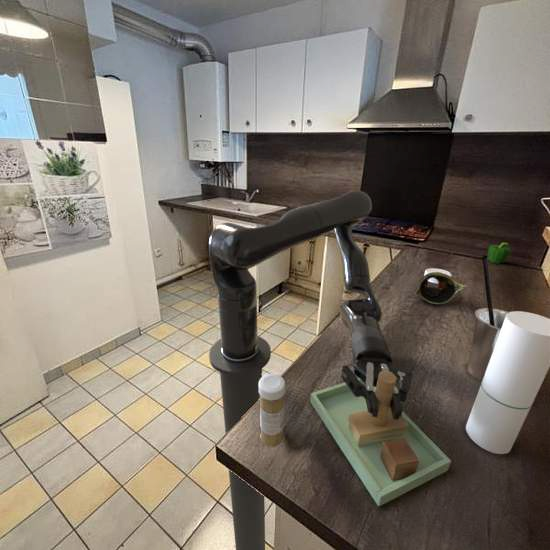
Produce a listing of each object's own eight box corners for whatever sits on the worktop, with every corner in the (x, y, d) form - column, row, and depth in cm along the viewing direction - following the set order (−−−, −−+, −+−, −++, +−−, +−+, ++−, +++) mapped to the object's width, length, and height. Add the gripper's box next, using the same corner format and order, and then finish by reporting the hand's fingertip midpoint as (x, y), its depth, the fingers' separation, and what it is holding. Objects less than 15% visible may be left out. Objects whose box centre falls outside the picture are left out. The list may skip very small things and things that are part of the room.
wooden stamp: (346, 426, 56) (355, 371, 50) (391, 417, 57) (404, 363, 51) (357, 448, 52) (368, 391, 46) (404, 438, 54) (420, 382, 48)
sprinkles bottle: (268, 423, 57) (268, 368, 52) (288, 434, 55) (290, 378, 50) (254, 440, 54) (253, 384, 49) (275, 453, 52) (276, 396, 46)
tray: (310, 401, 62) (310, 393, 61) (365, 383, 67) (367, 375, 66) (378, 507, 44) (380, 497, 43) (448, 470, 49) (451, 460, 48)
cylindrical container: (514, 436, 55) (567, 323, 45) (507, 462, 50) (564, 342, 40) (471, 413, 60) (510, 306, 50) (461, 435, 55) (501, 322, 45)
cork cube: (379, 457, 50) (383, 441, 49) (400, 453, 51) (404, 437, 49) (392, 481, 47) (396, 464, 45) (414, 477, 47) (419, 460, 46)
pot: (455, 266, 112) (466, 267, 95) (461, 295, 111) (473, 301, 95) (406, 274, 118) (409, 277, 101) (412, 301, 118) (416, 309, 101)
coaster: (420, 280, 121) (422, 272, 120) (427, 273, 128) (429, 266, 127) (446, 287, 115) (449, 279, 114) (452, 279, 122) (454, 271, 121)
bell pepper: (484, 262, 141) (490, 242, 137) (486, 258, 147) (492, 239, 143) (505, 266, 136) (512, 246, 132) (506, 262, 142) (513, 242, 138)
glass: (447, 373, 70) (481, 256, 59) (462, 353, 77) (496, 245, 66) (500, 399, 63) (552, 271, 51) (512, 374, 70) (560, 257, 58)
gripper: (400, 366, 64) (426, 436, 48) (335, 360, 66) (340, 425, 50) (406, 338, 61) (436, 402, 46) (338, 332, 63) (345, 392, 47)
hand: (386, 414), depth 48 cm, fingers closed on wooden stamp, 3 cm apart
